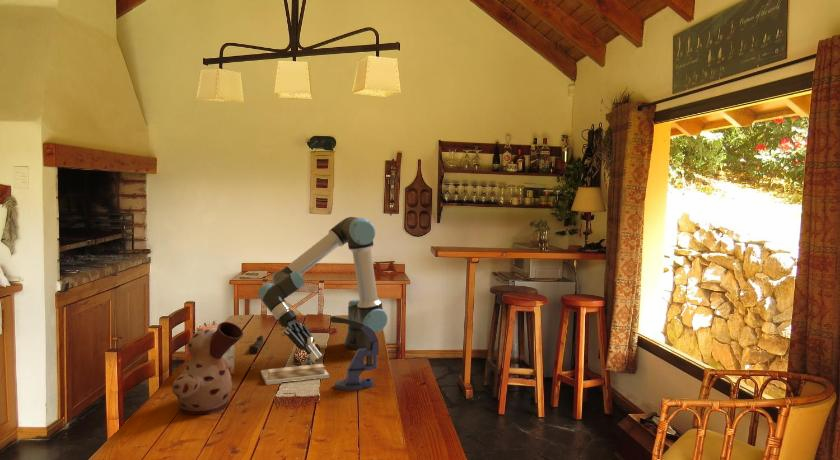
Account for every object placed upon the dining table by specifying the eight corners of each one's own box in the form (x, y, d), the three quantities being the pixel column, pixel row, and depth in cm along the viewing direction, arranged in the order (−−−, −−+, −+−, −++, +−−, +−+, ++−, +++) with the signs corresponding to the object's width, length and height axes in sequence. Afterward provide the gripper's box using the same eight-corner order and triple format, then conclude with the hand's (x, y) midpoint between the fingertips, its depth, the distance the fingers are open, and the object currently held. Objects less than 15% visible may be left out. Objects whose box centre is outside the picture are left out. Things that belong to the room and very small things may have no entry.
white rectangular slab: (320, 367, 246) (320, 364, 246) (329, 378, 233) (329, 374, 233) (260, 373, 236) (261, 370, 236) (266, 385, 223) (266, 381, 223)
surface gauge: (314, 364, 244) (315, 335, 243) (319, 370, 237) (319, 339, 236) (300, 366, 242) (301, 336, 241) (305, 372, 234) (305, 341, 233)
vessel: (196, 391, 214) (196, 312, 212) (255, 393, 214) (255, 314, 212) (159, 422, 186) (158, 331, 183) (226, 424, 185) (226, 333, 183)
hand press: (375, 381, 230) (377, 313, 228) (379, 388, 222) (380, 317, 220) (328, 383, 226) (329, 314, 224) (330, 391, 217) (331, 319, 215)
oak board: (322, 370, 237) (322, 363, 237) (324, 373, 233) (324, 366, 233) (268, 376, 228) (268, 369, 228) (269, 379, 224) (269, 372, 224)
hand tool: (257, 354, 263) (257, 345, 263) (248, 354, 263) (248, 344, 263) (267, 344, 282) (267, 334, 282) (259, 343, 282) (259, 334, 282)
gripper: (289, 316, 252) (321, 358, 247) (268, 324, 237) (302, 368, 232) (299, 306, 249) (332, 348, 245) (279, 312, 235) (313, 357, 230)
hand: (317, 358), depth 238 cm, fingers closed on surface gauge, 2 cm apart
